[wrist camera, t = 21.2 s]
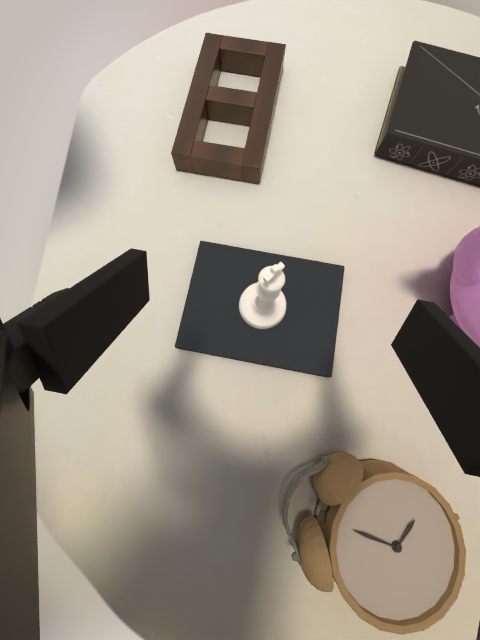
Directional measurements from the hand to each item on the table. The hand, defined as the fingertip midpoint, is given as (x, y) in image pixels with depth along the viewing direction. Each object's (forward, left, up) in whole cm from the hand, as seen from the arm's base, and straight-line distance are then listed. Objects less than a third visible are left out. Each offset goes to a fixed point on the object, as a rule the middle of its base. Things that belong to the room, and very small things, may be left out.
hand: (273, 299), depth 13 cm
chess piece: (0, +3, -14) cm, 15 cm away
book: (+22, +31, -15) cm, 40 cm away
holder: (-8, +28, -15) cm, 32 cm away
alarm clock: (+12, -14, -15) cm, 24 cm away
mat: (0, +4, -15) cm, 15 cm away
